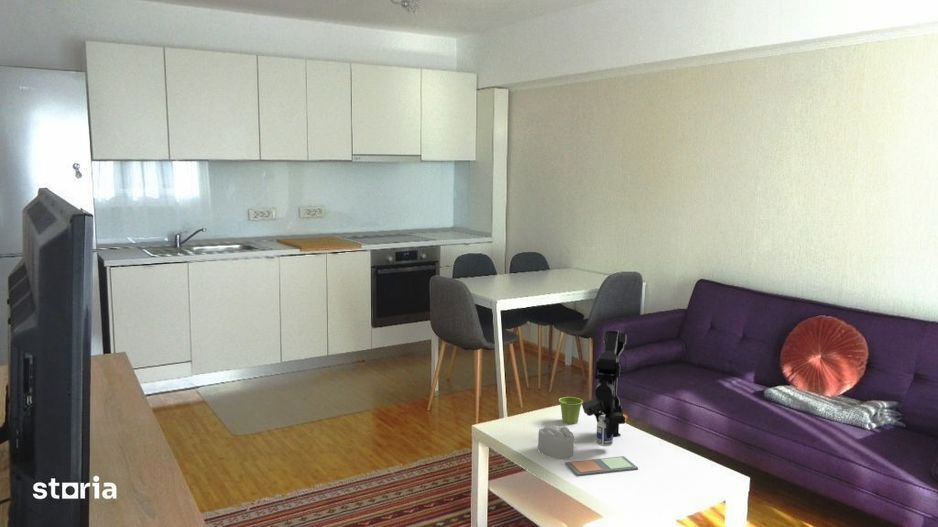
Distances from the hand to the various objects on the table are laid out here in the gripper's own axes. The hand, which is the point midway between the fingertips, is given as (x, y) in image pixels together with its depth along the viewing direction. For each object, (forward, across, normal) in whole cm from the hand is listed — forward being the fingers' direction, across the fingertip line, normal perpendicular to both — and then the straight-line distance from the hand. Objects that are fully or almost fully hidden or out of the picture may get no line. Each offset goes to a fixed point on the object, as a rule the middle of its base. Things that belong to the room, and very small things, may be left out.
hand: (604, 434), depth 254 cm
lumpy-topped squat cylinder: (+6, -2, -17) cm, 18 cm away
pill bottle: (+4, 0, 0) cm, 4 cm away
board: (+6, +13, -8) cm, 16 cm away
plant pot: (+6, -30, 0) cm, 31 cm away
